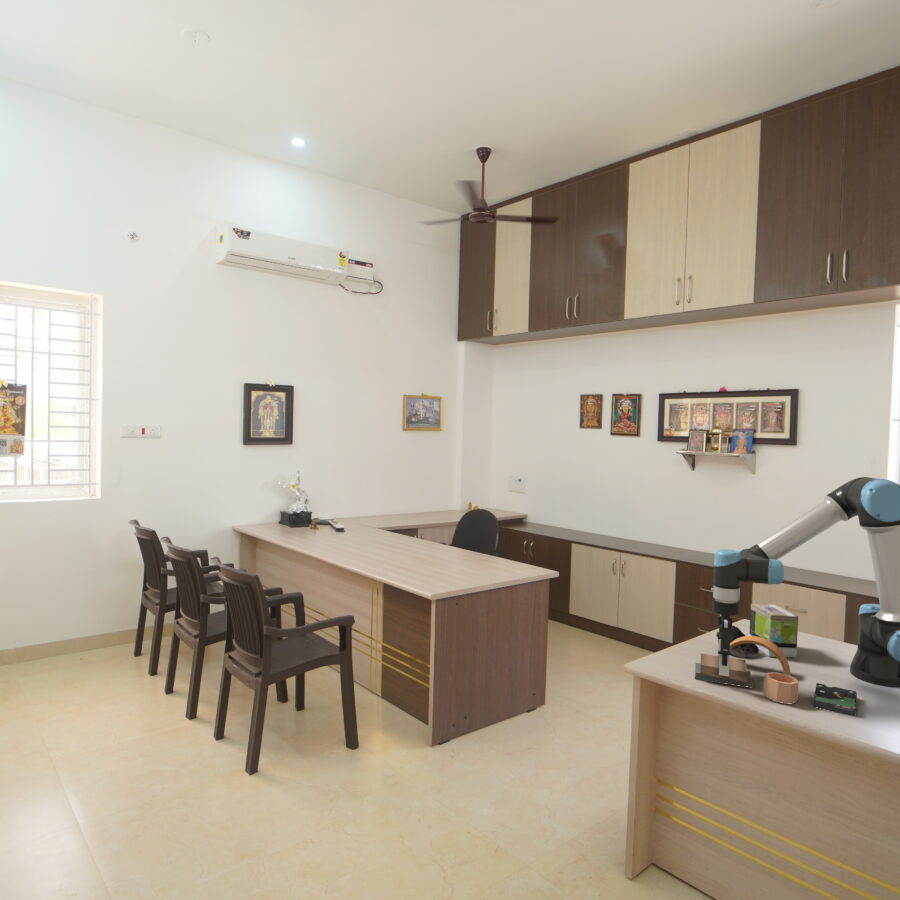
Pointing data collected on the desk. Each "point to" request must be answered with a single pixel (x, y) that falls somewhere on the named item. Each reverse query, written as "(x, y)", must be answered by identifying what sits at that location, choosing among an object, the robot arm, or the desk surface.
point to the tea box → (774, 628)
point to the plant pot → (781, 687)
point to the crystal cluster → (744, 648)
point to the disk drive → (835, 699)
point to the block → (722, 680)
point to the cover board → (712, 668)
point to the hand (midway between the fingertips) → (723, 667)
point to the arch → (767, 645)
